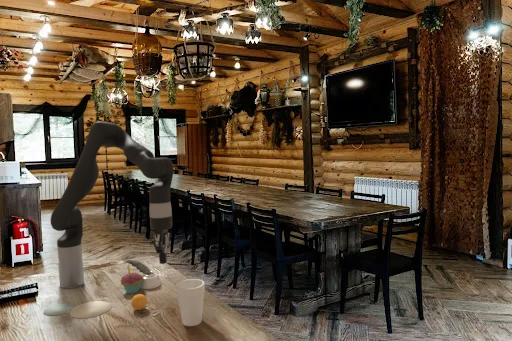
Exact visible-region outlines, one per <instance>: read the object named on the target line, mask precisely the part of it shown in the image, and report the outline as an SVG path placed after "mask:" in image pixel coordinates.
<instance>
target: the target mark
mask: <svg viewBox="0 0 512 341" xmlns="http://www.w3.org/2000/svg"><path fill="white" fill-rule="evenodd" d="M111 309H112V304H111V303H110V302H109V301H102V300H95V301H88V302H84V303H81V304H79V305H77V306H74V308H73V309H72V310H71V311H69V315H70V316H71V317H73V318H76V319H87V318H88V319H89V318H95V317H98V316H101V315H104V314H105V313H108V312H109V311H110V310H111Z"/></svg>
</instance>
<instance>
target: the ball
mask: <svg viewBox="0 0 512 341" xmlns="http://www.w3.org/2000/svg"><path fill="white" fill-rule="evenodd" d="M130 303H131V307H132V308H133V309H134V310H135V311H141V310H144V309H145V308H146V307H147V304H148V299H147V297H146V295H144V294H142V293H138V294H136V295H134V296H133V297H132V298H131V302H130Z"/></svg>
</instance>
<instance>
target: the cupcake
mask: <svg viewBox="0 0 512 341" xmlns="http://www.w3.org/2000/svg"><path fill="white" fill-rule="evenodd" d="M130 268H131V267H130V264H127V270H128V273H127V274H125V275H123V276H122V277H121V278H120V284H121V285H122V286H123V287H124V290H125V291H126V292H125V293H127V294H134V293H135V294H136V293H137V292H139V290H140V284H141V282H143V278H142V274H139V273H137V272H131V269H130Z"/></svg>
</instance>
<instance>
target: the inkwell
mask: <svg viewBox="0 0 512 341" xmlns="http://www.w3.org/2000/svg"><path fill="white" fill-rule="evenodd" d="M124 263H127V264H128V265H131V266H132V267H135V268H136V270H139V273H142V274H141V276H142V278H143V282H141V284H140V287H139V289H142V290H152V289H156V288H159V287H160V286H161V285H162V282H161V279H160V275H159V274H158V273H156V272H155V271H152V270H151V269H150V268H149V266H147V265H146V264H144V263H142V262H141V261H140V260H137V259H132V258H130V259H126V260H125V261H124Z"/></svg>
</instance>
